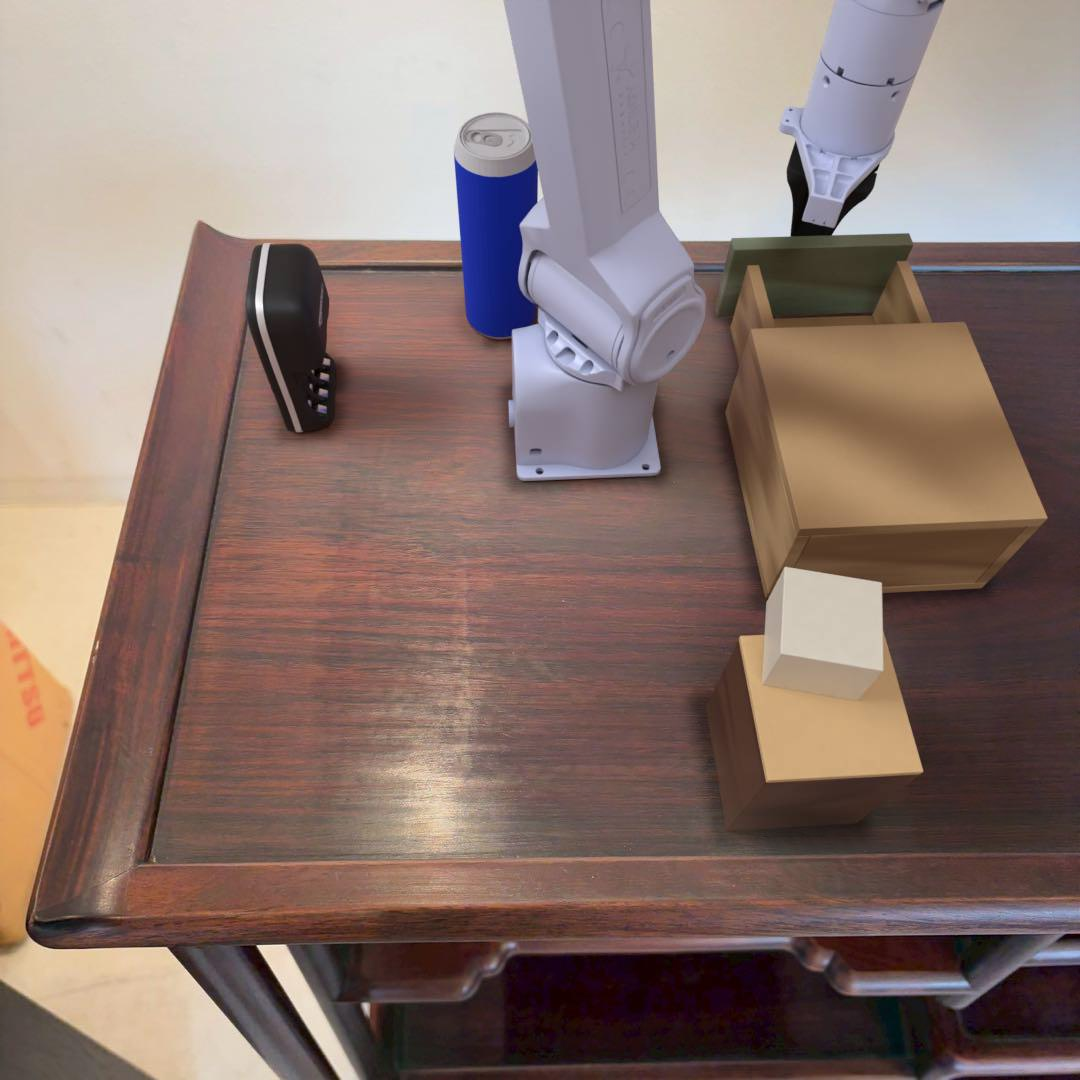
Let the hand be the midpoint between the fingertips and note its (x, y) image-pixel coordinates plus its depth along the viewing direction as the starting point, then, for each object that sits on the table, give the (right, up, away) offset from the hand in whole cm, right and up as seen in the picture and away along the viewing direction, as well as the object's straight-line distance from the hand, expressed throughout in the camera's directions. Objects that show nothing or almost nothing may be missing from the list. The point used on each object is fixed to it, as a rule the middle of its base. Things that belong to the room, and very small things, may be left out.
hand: (806, 244), depth 64 cm
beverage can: (-22, -5, +3) cm, 23 cm away
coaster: (-6, -29, -22) cm, 37 cm away
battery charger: (-34, -11, -2) cm, 36 cm away
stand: (-6, -33, -15) cm, 37 cm away
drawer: (0, -9, -1) cm, 9 cm away
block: (-6, -26, -21) cm, 34 cm away
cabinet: (+1, -18, -5) cm, 19 cm away
